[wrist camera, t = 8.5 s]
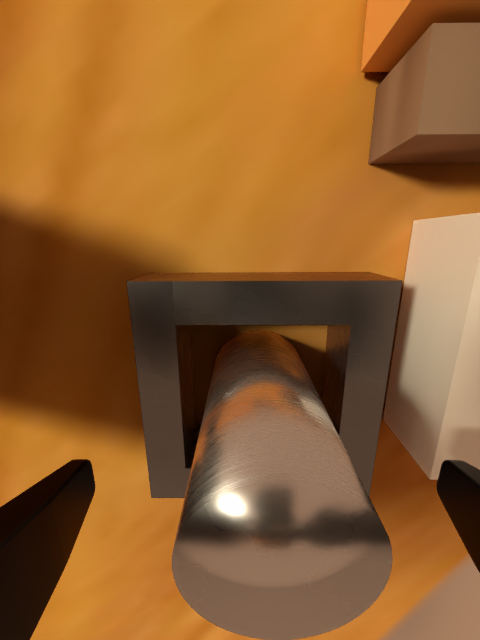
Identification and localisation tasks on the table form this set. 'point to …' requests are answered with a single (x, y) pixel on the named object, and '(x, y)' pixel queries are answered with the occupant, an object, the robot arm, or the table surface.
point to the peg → (275, 504)
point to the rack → (438, 346)
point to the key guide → (431, 101)
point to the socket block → (260, 309)
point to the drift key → (406, 27)
